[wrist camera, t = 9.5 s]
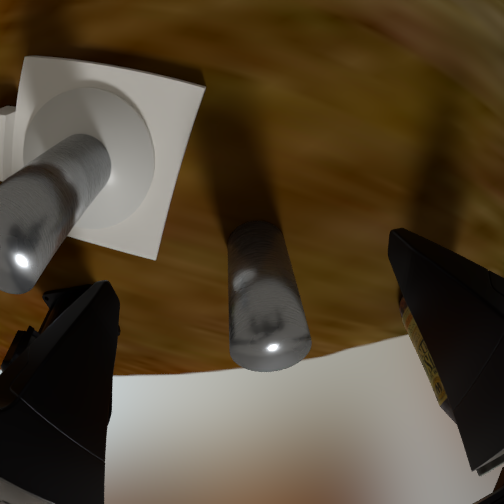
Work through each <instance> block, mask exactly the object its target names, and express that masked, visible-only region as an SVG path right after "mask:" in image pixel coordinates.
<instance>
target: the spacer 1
mask: <svg viewBox="0 0 504 504" xmlns="http://www.w3.org/2000/svg"><path fill="white" fill-rule="evenodd" d="M110 174H111V159H110V156H109V153H108V151H107V149H106V148H105V146H104V145H103V144H102V143H101V142H100V141H99V140H98V139H96V138H95V137H93V136H91V135H88V134H74V135H71V136H69V137H67V138H65V139H64V140H62V141H61V142H59V143H57V144H56V145H54V146H53V147H51V148H50V149H48V150H47V151H45V152H44V153H42V154H41V155H39V156H38V157H37V158H35V159H34V160H32V161H31V162H29V163H28V164H27V165H25V166H24V167H23V168H21V169H20V170H18V171H17V172H16V173H14V174H13V175H12V176H10V177H9V178H8V179H7V180H5V181H4V182H3V183H2V184H0V290H2V291H4V292H7V293H11V294H22V293H26V292H28V291H29V290H31V289H32V288H33V286H34V285H35V284H36V282H37V280H38V279H39V277H40V275H41V274H42V272H43V271H44V269H45V268H46V266H47V265H48V263H49V261H50V260H51V258H52V257H53V255H54V254H55V252H56V251H57V250H58V248H59V247H60V245H61V244H62V242H63V241H64V239H65V238H66V237H67V235H68V234H69V232H70V231H71V230H72V228H73V227H74V225H75V224H76V223H77V221H78V220H79V219H80V217H81V216H82V215H83V213H84V212H85V211H86V209H87V208H88V207H89V206H90V204H91V203H92V202H93V200H94V199H95V198H96V197H97V195H98V194H99V193H100V192H101V190H102V189H103V188H104V187H105V185H106V184H107V182H108V180H109V178H110Z"/></svg>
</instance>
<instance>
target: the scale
mask: <svg viewBox="0 0 504 504" xmlns="http://www.w3.org/2000/svg"><path fill="white" fill-rule="evenodd" d="M205 89H206V86H202V85H199V84H195V83H192V82H188V81H184V80H180V79H176V78H172V77H168V76H164V75H160V74H155V73H151V72H146V71H141V70H137V69H132V68H126V67H121V66H115V65H110V64H104V63H97V62H91V61H83V60H76V59H67V58H58V57H47V56H26V57H25V58H24V63H23V67H22V73H21V78H20V84H19V90H18V96H17V104H16V107H14V106H5V107H3V108H0V181H4V180H6V179H7V178H8V177H10V176H12V175H13V174H14V173H16V172H17V171H18V170H20V169H21V168H23V167H24V166H25V165H27V164H28V163H29V162H31V161H32V160H34V159H35V158H37V157H38V156H39V155H41V154H42V153H44V152H45V151H47V150H48V149H50V148H51V147H53V146H54V145H56V144H57V143H59V142H61V141H62V140H64V139H65V138H67V137H69V136H71V135H74V134H88V135H91V136H93V137H95V138H96V139H98V140H99V141H100V142H101V143H102V144H103V145H104V146H105V148H106V149H107V151H108V153H109V156H110V159H111V174H110V178H109V180H108V182H107V184H106V185H105V187H104V188H103V189H102V190H101V192H100V193H99V194H98V195H97V197H96V198H95V199H94V200H93V202H92V203H91V204H90V206H89V207H88V208H87V209H86V211H85V212H84V213H83V215H82V216H81V217H80V219H79V220H78V221H77V223H76V224H75V225H74V227H73V228H72V230H71V231H70V232H69V234H68V235H67V236H69V237H72V238H76V239H79V240H83V241H86V242H90V243H93V244H97V245H100V246H104V247H108V248H111V249H115V250H118V251H122V252H126V253H129V254H133V255H137V256H141V257H144V258H148V259H152V260H156V257H157V254H158V251H159V246H160V242H161V238H162V234H163V230H164V226H165V222H166V218H167V214H168V210H169V206H170V202H171V199H172V195H173V191H174V188H175V184H176V180H177V177H178V173H179V170H180V166H181V163H182V160H183V156H184V153H185V150H186V146H187V143H188V140H189V137H190V134H191V131H192V127H193V124H194V121H195V118H196V115H197V112H198V109H199V106H200V103H201V101H202V98H203V95H204V92H205Z"/></svg>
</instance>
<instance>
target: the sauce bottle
mask: <svg viewBox="0 0 504 504" xmlns="http://www.w3.org/2000/svg"><path fill="white" fill-rule="evenodd" d="M400 313H401V317H402V321H403V324H404V326H405V328H406V330H407V332H408V335H409V337H410V339H411V341H412V343H413V345H414V347H415V349H416V352H417V354H418V356H419V358H420V361H421V363H422V365H423V367H424V369H425V371H426V374H427V376H428V378H429V380H430V383H431V386H432V388H433V391H434V393H435V395H436V398H437V401H438V403H439V405H440V407H441V408H442V409H443V410H444V411H445V412H446V413H447V414H448V415H449V417H450V418H451V419H452V420H453V421H454V422H455V423H456V420H455V417H454V415H453V411H452V409H451V406H450V403H449V400H448V398H447V395H446V392H445V390H444V387H443V385H442V382H441V380H440V377H439V375H438V372H437V370H436V367H435V365H434V363H433V360H432V358H431V356H430V353H429V351H428V349H427V346H426V344H425V342H424V340H423V337H422V335H421V333H420V331H419V329H418V327H417V324H416V322H415V320H414V318H413V316H412V314H411V312H410V310H409V308H408V306H407V304H406V301H405V299H404V297H402V299H401V301H400ZM456 424H457V423H456ZM503 463H504V454H503V455H501V456H499V457H498V458H496V459H494V460H492V461H491V462H489V463H487V464H485V465H484V466H482V467H480V468H478V469H476V470H477V473H478V475H479V476H482V475H484V474H486V473H488V472H490V471H491V470H493V469H494V468H496V467H498V466H500V465H502V464H503Z"/></svg>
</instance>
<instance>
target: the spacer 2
mask: <svg viewBox="0 0 504 504" xmlns="http://www.w3.org/2000/svg"><path fill="white" fill-rule="evenodd" d="M228 296H229V341H230V355H231V357H232V359H233V360H234V361H235V362H236V363H237V364H238V365H239V366H241V367H243V368H246V369H248V370H252V371H259V372H271V371H278V370H282V369H286V368H288V367H291V366H293V365H295V364H296V363H298V362H300V361H301V360H302V359H303V358H304V357H305V356H306V355H307V354H308V352H309V351H310V348H311V337H310V333H309V329H308V325H307V321H306V318H305V314H304V310H303V306H302V302H301V299H300V295H299V291H298V287H297V284H296V280H295V276H294V273H293V269H292V265H291V262H290V258H289V254H288V251H287V247H286V244H285V240H284V237H283V234H282V233H281V231H280V230H279V229H278V228H277V227H276V226H274V225H273V224H271V223H268V222H265V221H250V222H247V223H244V224H242V225H240V226H239V227H237V228H236V229H235V230H234V231H233V232H232V234H231V235H230V238H229V240H228Z"/></svg>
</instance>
